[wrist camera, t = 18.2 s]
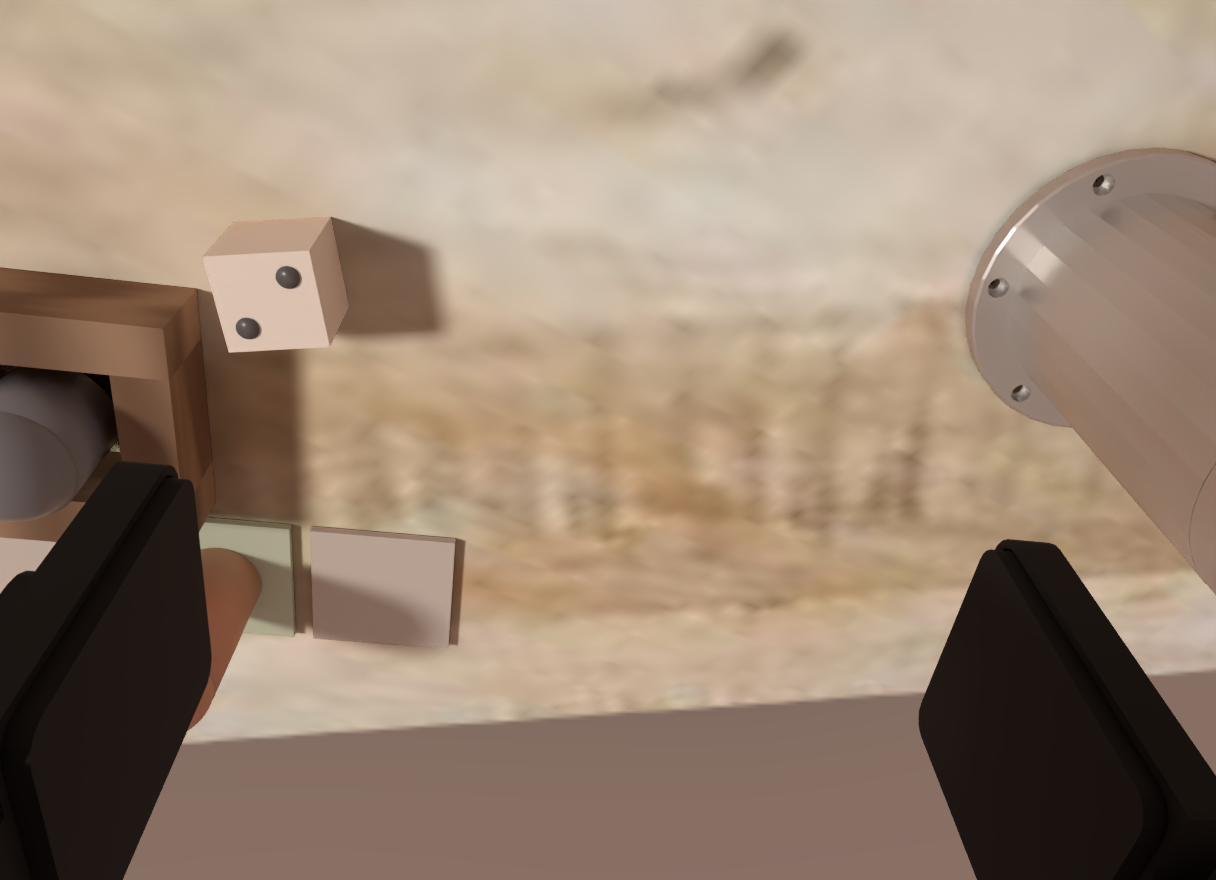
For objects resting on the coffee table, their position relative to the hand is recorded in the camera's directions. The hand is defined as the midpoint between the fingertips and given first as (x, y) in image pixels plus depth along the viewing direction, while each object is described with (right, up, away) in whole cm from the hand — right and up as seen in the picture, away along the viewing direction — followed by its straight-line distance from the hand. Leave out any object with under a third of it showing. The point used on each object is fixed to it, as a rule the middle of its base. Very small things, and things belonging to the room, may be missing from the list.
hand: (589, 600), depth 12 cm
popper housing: (-23, +4, +32) cm, 40 cm away
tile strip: (-19, -5, +38) cm, 43 cm away
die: (-13, +9, +29) cm, 34 cm away
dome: (-23, +3, +30) cm, 38 cm away
